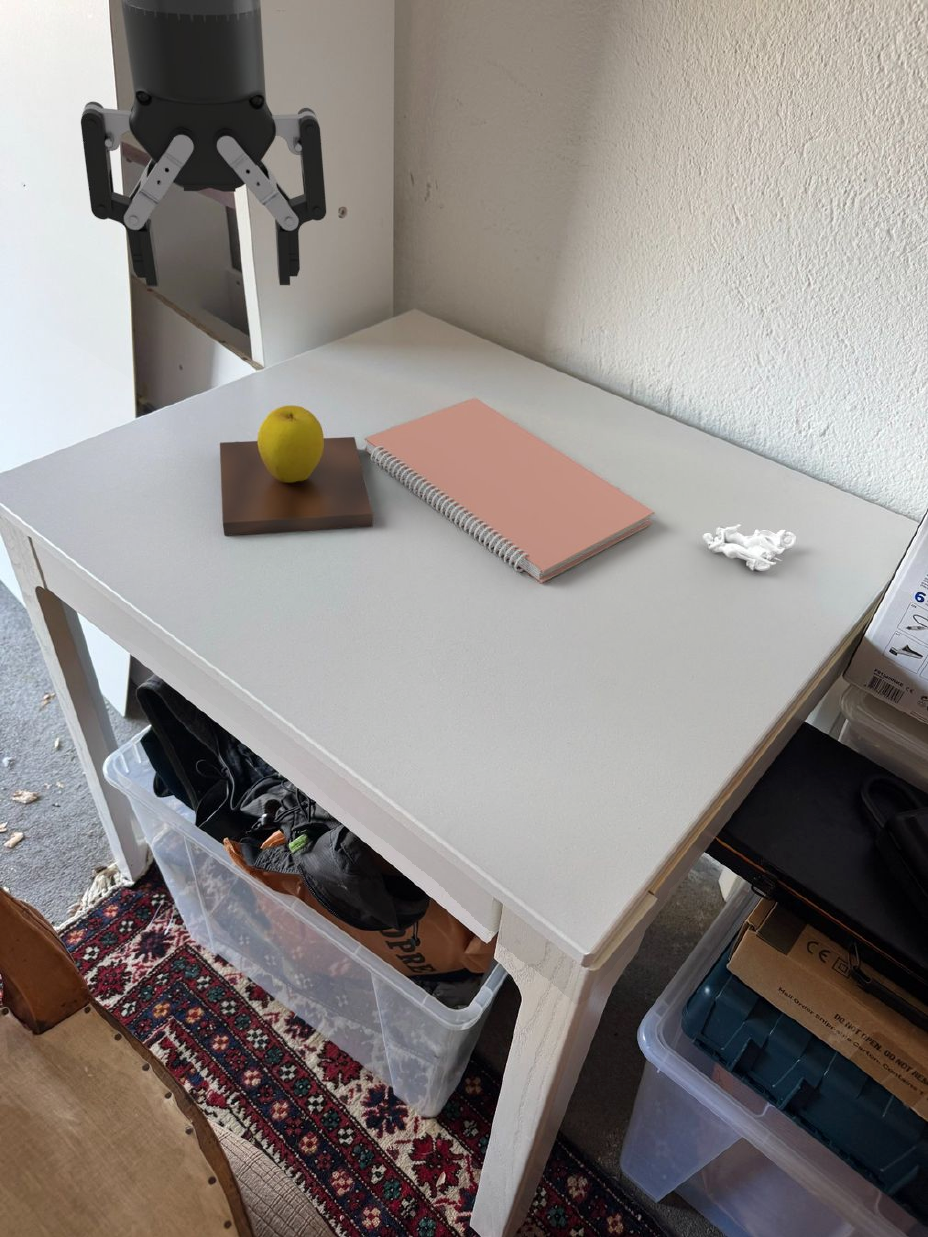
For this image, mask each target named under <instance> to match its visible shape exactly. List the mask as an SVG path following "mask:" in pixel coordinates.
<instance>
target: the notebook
mask: <svg viewBox="0 0 928 1237" xmlns="http://www.w3.org/2000/svg"><path fill="white" fill-rule="evenodd" d="M364 440H365V441H366V447H364V451H365V452H367V453H368V454H369V455H370V460H371V462H372V463H373V464H375V466H376V467H379V468H380V469H381V470H382V471H384V472H385V473H387V474H388V475H389V476H390V477H392V478H393V479H394V480H396V481H397V482H398V483H399V484H401V485H402V486H404V487H405V488H406V489H407V490H409V491H410V492H411V493H413V494H414V495H415V496H416V497H418V498H419V499H420V500H422V501H423V502H424V503H427V504H428V506H430V507H432V509H434V510H436V511H437V512H438V513H439V514H441V515H442V516H443V517H445V518H446V519H447V520H449V521H450V522H451V523H452V524H454V525H455V526H456V527H458V528H460V530H461V531H463V532H465V534H467V535H469V536H470V537H471V538H473V539H474V541H476V542H478V543H479V544H480V545H481V546H484V548H485V549H487V550H489V552H490V553H493V554H494V556H496V557H498V558H499V559H500V561H501V560H502V561H504V563H505V564H507V565H509V568H511V569H514V571H515V572H517V573H521V572H523V571H525V572H526V573H528V574H529V575H530V576H531V577H533V578H534V579H535V580H537V581H538V582H540V584H543V583H545V582H546V581H549V580H550V579H552V578H554V577H556V576H558V575H560V574H561V573H563V572H565V571H567V570H569V569H571V568H573V567H575V566H576V565H578V564H580V563H582V562H584V561H586V560H588V559H589V558H591V557H593V556H595V555H597V554H598V553H600V552H602V551H604V550H606V549H608V548H609V547H612V546H614V545H615V544H617V543H620V542H622V541H624V540H625V539H627V538H628V537H630V536H632V535H634V534H636V533H638V532H640V531H641V530H643V529H646V528H648V527H649V526H651V525H653V522H652V521H651V520H649V518H650V517H652V516H653V515H655V514H656V511H655V510H653V509H651V508H649V507H648V506H646V505H645V504H643V503H642V502H641V501H639V500H637V499H635V498H634V497H632V496H631V495H630V494H628V493H626V492H624V491H623V490H621V489H620V488H618V487H617V486H615V485H614V484H612V483H610V482H609V481H607V480H606V479H604V478H603V477H601V476H600V475H598V474H596V473H595V472H593V471H592V470H590V469H588V468H587V467H585V466H583V465H582V464H580V463H579V462H578V461H576V460H574V459H573V458H571V457H570V456H568V455H566V454H565V453H563V452H562V451H561V450H559V449H557V448H555V446H553V445H551V444H549V443H548V442H546V441H544V440H543V439H542V438H540V437H538V436H537V435H536V434H533V433H532V432H530V431H529V430H527V429H526V428H524V427H523V426H521V425H520V424H518V423H516V422H515V421H513V420H511V419H510V418H508V417H507V416H505V415H504V414H502V413H500V412H499V411H497V410H496V409H494V408H493V407H491V406H490V405H488V404H487V403H485V402H483V401H481V400H480V399H479V398H477V397H475V396H474V397H472V398H469V399H466V400H463V401H461V402H458V403H455V404H452V405H450V406H447V407H444V408H442V409H439V410H436V411H434V412H430V413H427V414H425V415H423V416H420V417H417V418H414V419H412V420H409V421H406V422H403V423H400V424H398V425H396V426H393V427H390V428H387V429H384V430H382V431H379V432H376V433H374V434H371V435H368V436H366V437H364ZM453 520H454V521H453ZM472 534H473V535H472ZM482 541H483V542H482ZM487 545H488V546H487ZM492 549H493V550H492ZM497 552H498V554H497ZM502 556H503V557H502ZM507 560H509V561H507ZM513 563H514V565H513ZM518 567H519V568H520V569H518Z"/></svg>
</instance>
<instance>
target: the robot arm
mask: <svg viewBox="0 0 928 1237" xmlns="http://www.w3.org/2000/svg"><path fill="white" fill-rule="evenodd" d="M120 6H121V11H122V18H123V25H124V32H125V39H126V47H127V53H128V54H127V55H128V61H129V67H130V75H131V82H132V89H133V104H132V107H131V109H130V110H127V109H117V108H116V109H115V108H106V107H104V106H103V105H102V104H100V103H99V102H98V101H89V102H87V103H86V104H85V105H84V108H83V112H82V114H81V118H80V128H81V136H82V144H83V153H84V160H85V161H84V162H85V169H86V170H85V171H86V177H87V178H86V179H87V186H88V195H89V203H90V210H91V213H92V214H93V216H94V217H95V218H97V219H98V220H112V221H114V222H117V223H119V224H121V225H122V226H123V227H124V228H125V230H126V232H127V237H128V244H129V250H130V256H131V262H132V268H133V272H134V274H135V275H136V277H137V278H138V279H145V284H146V287H147V288H159V283H160V282H159V281H160V274H159V266H158V265H159V264H158V258H157V252H156V245H155V238H154V231H153V223H152V218H149V217H150V216H151V214H152V213H153V211H154V210H155V208H156V206H157V205H159V204H160V203H161V201H162V200H163V198H164V197H165V195H166V193H167V192H168V190H169V189H170V187H171V185H172V184H174V185H176V186H177V187H179V188H182V189H183V191H184V192H199V191H204V190H207V189H212V190H216V191H218V192H219V191H220V192H224V193H225V192H227V193H228V192H230V193H236V192H237V190H236V189H240V188H241V187H243V186H244V185H246V187H247V188H248V189H249V190H250V192H251V193H252V194H253V196H254V197H255V198H256V199H257V201H258V202H259V203H260V204H261V205H262V206H264V207H265V208H266V209H267V211H268V212H269V214H270V215H271V216H272V217H273V218H274V225H275V226H274V227H275V228H274V229H275V246H276V247H275V248H276V265H277V278H278V283H279V286H291V277H298V276H299V272H300V270H301V269H300V268H301V264H300V238H299V236H300V235H299V231H300V228H301V227H302V226H303V225H304V224H305V223H307V222H310V221H317V222H318V221H322V220H323V219H325V217H326V215H327V201H326V189H325V188H326V187H325V175H324V174H325V173H324V163H323V162H324V161H323V150H322V138H321V127H320V124H319V121H318V118H317V115H316V113H315V111H314V110H313V109H311V108H309V107H303V108H301V109H299V110H298V112H297V113H293V114H291V113H290V114H273V113H272V111H271V110H270V108H269V106H268V103H267V94H266V79H265V78H266V76H265V75H266V74H265V61H264V60H265V59H264V44H263V40H264V39H263V25H262V6H261V0H120ZM125 133H131V135H132V136H133V138H134V139H135V140H136V141H137V143H138V144H139V145H140V146H141V147H142V149H143V150H144V151H145V153H146V154H147V155H148V156H149V157H150V160H149V162H148V163H147V164H146V166H145V168H144V170H143V172H142V173H141V176H140V178H139V180H138V181H137V183H136V185H135V187H134V188H133V189H132V191H131V193H130V195H129V196H127V195H124V194H121V193H118V192H115V189H114V181H113V180H114V178H113V170H112V160H111V152H114V151H116V150H118V149H119V148H120V145H121V142H122V136H123V135H124V134H125ZM276 136H278V137H281V138H282V139H284V140H285V142H286V144H287V148H288V150H289V152H290V153H291V154H293V155H296V156H299V157H300V167H301V178H302V189H303V194H300V195H297V196H294V197H292V198H291V197H290V196H289V194H288V193H287V192H286V191H285V189H284V188H283V187H282V185H281V184H280V183H279V181H278V180H277V178H276V177H275V175H274V174H273V172H272V170H270V168H269V167H268V165H267V164H266V163H265V161H264V160H263V159H264V157H265V156H266V154H267V152H268V151H269V149H270V148H271V146H272V144H273V143H274V141H275V140H276Z"/></svg>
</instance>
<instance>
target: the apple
mask: <svg viewBox="0 0 928 1237" xmlns="http://www.w3.org/2000/svg"><path fill="white" fill-rule="evenodd" d="M324 438H325V436H324V431H323V428H322V425H321V423H320V421H319V420H318V418H317V417H316V416H315V415H314V414H313V413H312V412H311V411H309V410H308V409H306V408H304V407H303V406H300V405H290V404H289V405H282V406H279V407H277V408H275V409H274V410H273V411H270V413H268V415H266V417H265V419H264V420H263V421H262V423H261V424H260V427H259V431H258V433H257V440H256V441H258V448H259V452H260V455H261V458H262V460H263V462H264V464H265V466H266V468H267V469H268V471H269V472H270V474H271V475H272V476H273V477H275V478H276V479H278V480H279V481H281V482H285V483H286V482H287V483H289V482H291V483H292V482H296V481H303V480H306V479H307V478H308V477H309V476H310V475H311V473H312V472H313V470H314V469H315V468H316V466H317V464H318V462H319V461H320V459H321V457H322V453H323V448H324Z"/></svg>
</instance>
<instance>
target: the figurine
mask: <svg viewBox="0 0 928 1237" xmlns="http://www.w3.org/2000/svg"><path fill="white" fill-rule="evenodd" d="M741 527H742V524H740V523H738V524H736V525H734V526H727V527H723V526H722V525H719V526H718V527H716V529H715V535H716V536H715V537H713V535H712V533H710V532H706V533H705V532H704V534H703V535H702V539H703V540H704V542H705V543H707V545H708V546H707V547H708V548H707V549H709V550H710V551H711V552H712V553H713V554H717V553H723V554H724V555H725V556H726V558H729V559H735V558H738V559H741V560H744V561H746V563H745V565H746V567H748V568H749V569H750V570H751V571H752V572H753V571H754V570H756V571H760V572H765V571H768V570H769V569H770V568H771V567H772V566H775V565H776V564H777V561H778V562H782V559H779V558H777V557H775V556H776V555H781V554H783V552H784V551H785V550H787V549H788V550H789V549H792V548H793V547H794V546H795V545H796V543H797V537H796V535H795V534H794V533H793V532H791V531H786V529H780V530H779V531H777V533H775V532H773V531H770V530H767V529H766V530H765V529H763V530H759V529H755V530H754V533H753V534H752V535H743V534H742V533H740V532H738V529H740V528H741ZM772 559H774V560H775V562H773V561H771V560H772ZM776 560H777V561H776Z"/></svg>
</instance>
